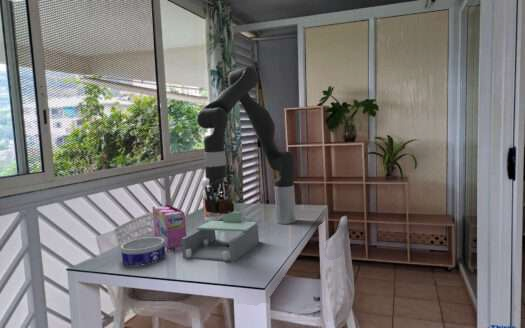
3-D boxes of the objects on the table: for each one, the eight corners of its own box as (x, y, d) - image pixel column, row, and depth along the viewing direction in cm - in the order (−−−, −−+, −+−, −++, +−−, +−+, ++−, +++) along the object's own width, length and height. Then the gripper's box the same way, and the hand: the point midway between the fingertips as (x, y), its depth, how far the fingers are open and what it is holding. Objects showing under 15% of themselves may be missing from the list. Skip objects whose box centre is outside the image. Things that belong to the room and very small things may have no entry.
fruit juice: (201, 220, 190) (196, 166, 187) (215, 216, 196) (211, 163, 193) (212, 222, 183) (207, 166, 180) (227, 218, 189) (222, 164, 186)
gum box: (153, 235, 167) (150, 206, 165) (170, 232, 171) (168, 203, 169) (168, 249, 146) (165, 215, 145) (187, 244, 150) (184, 211, 149)
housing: (212, 239, 155) (211, 222, 154) (259, 241, 147) (257, 224, 146) (180, 258, 133) (178, 239, 133) (232, 263, 125) (231, 242, 125)
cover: (210, 222, 154) (209, 211, 153) (257, 223, 146) (256, 212, 145) (197, 229, 144) (196, 217, 144) (246, 231, 136) (245, 219, 136)
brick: (205, 212, 135) (204, 199, 135) (212, 210, 138) (211, 197, 138) (227, 214, 129) (226, 201, 129) (234, 212, 132) (233, 199, 132)
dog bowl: (150, 249, 148) (148, 234, 147) (174, 255, 138) (172, 239, 137) (114, 261, 136) (112, 245, 135) (137, 269, 126) (135, 252, 126)
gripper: (215, 162, 140) (218, 207, 142) (196, 166, 127) (199, 215, 129) (233, 162, 138) (236, 207, 139) (215, 166, 124) (218, 216, 126)
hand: (218, 211), depth 134 cm, fingers closed on brick, 4 cm apart
